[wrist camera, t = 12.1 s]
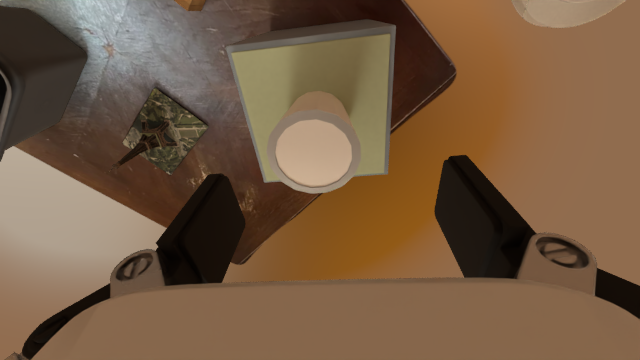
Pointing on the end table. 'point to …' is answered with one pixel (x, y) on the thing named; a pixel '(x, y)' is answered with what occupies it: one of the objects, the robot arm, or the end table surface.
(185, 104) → the end table surface
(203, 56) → the end table surface
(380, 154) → the mat
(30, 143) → the end table surface
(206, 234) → the robot arm
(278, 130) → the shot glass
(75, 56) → the storage bin
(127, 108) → the end table surface
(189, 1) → the wooden frame
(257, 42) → the block
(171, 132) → the eiffel tower figurine
